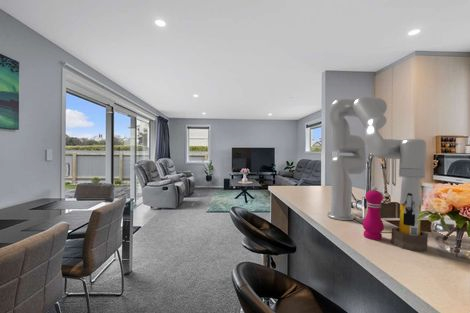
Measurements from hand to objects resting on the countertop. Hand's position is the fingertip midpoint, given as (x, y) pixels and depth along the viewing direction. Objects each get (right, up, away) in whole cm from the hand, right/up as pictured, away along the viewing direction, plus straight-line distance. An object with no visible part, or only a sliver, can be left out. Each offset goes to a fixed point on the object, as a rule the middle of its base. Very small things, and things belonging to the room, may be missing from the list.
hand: (409, 222), depth 87 cm
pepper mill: (-9, -8, +8) cm, 14 cm away
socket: (0, -8, 0) cm, 8 cm away
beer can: (0, -5, 0) cm, 5 cm away
